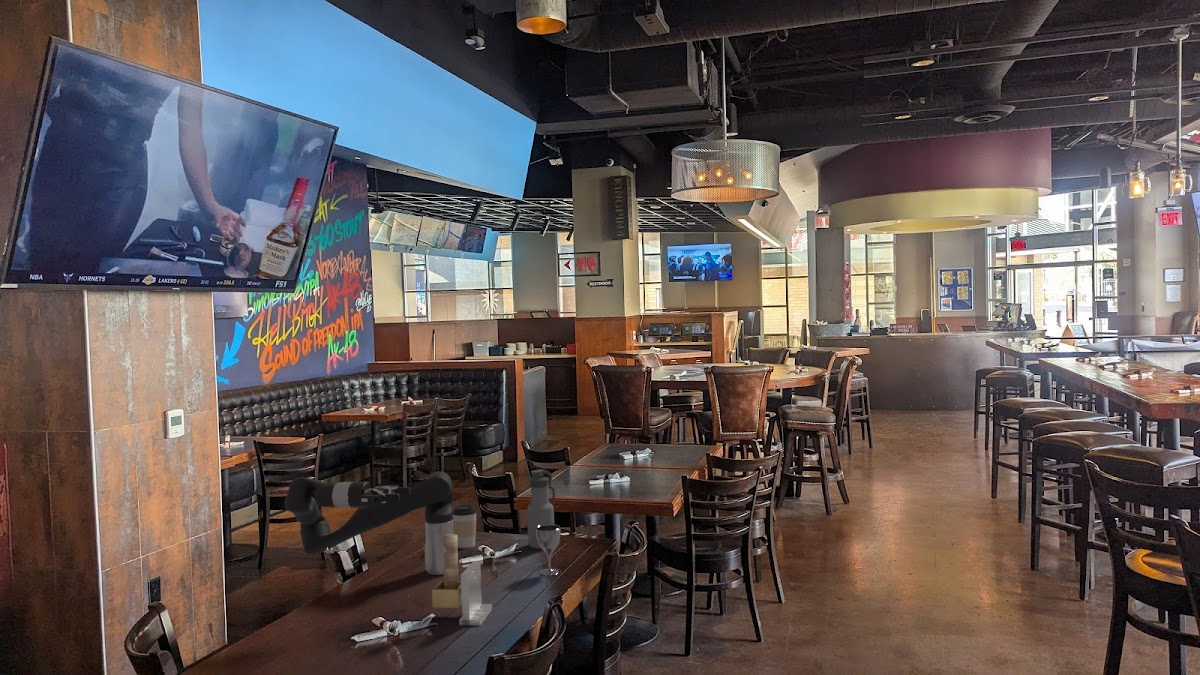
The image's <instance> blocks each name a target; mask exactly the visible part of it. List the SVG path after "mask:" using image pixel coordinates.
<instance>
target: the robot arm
mask: <svg viewBox="0 0 1200 675" xmlns="http://www.w3.org/2000/svg"><path fill="white" fill-rule="evenodd" d="M288 486H289V487H288V490H287V493H286V497H285V500H284V509H285V510H286V511H288V512H290V513H291V514H293V515H294V518H295V520H296V521H297V522H298V523H300V527H299V528H300V529H299V530H300V531H299V534H300V538H301V543H302V547H303V551H304V553H305V554H306V555H308V556H313V555H314V556H315V555H318V554H321V553H324V552H325V551H327V550H326V549H327V547H328V549H329V550H330V549H333V548H334V547H337V546H338V545H340V544H343V543H344V542H346V541H348V540H350V539H352V538H354V537H356V536H360V535H361V534H363V533H366V532H369V531H371V530H375V529H377V528H379V527H381V526H384V525H386V524H388V523H391V522H393V521H395V520H397V519H401V517H404V516H405V515H407V514H409V513H412V512H414V511H415V510H418V509H422V508H425V509H424V523H425V524H424V526H425V527H424V528H425V543H424V546H423V547H424V564H425V565H424V568H425V571H426V572H427V574H429V575H435V576H438V575H439V576H440V575H441V576H442V575H444V554H443V536H444V535H447V534H455V531H454V523H453V520H454V519H453V510H454V500H453V499H454V496H453V491H454V490H453V482H452V478H451V477H450V475H449V474H448V473H446V472H445V471H433V472H432V473H430V474H428V476H427V477H426V478H425V480H423V481H422V482H420V483H418V484H416V485H414V486H412V487H409V486H408V487H406V486H402V487H400V484H399V485H398V484H395V485H394V484H393V485H392V484H391V485H390V484H389V485H388V484H387V485H383V484H380V485H379V486H375V487H374V488H373V487H372V486H371V483H369V482H368V481H342V482H323V481H318V480H314V479H310V478H308V477H304V476H303V477H302V476H298V477H295V478H294V479H293V480H291V482H290V484H289V485H288ZM392 490H393V491H392ZM313 494H314V495H315V496H314V497H313ZM319 507H320V508H342V509H343V508H344V509H351V508H352V509H356V510H355V511H354V512H353V514H352V515H351V516H350V518H349V519H348V520H347V521H346V522H345V523H344V524H343V525H342V526H341V527H339V528H338V529H336V530H334V531H333V532H332V531H331V527H330V523H329V521H328V520H327V518H326V517H325V516H324V515H323V514H322V513H321V512H320V510H319Z"/></svg>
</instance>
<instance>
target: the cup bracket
mask: <svg viewBox="0 0 1200 675" xmlns="http://www.w3.org/2000/svg"><path fill="white" fill-rule="evenodd" d="M481 569H482V568H481V560H478V561H477V560H474V561H472V562H471V563H470V564H469V565H468V566H467V567H466V569H464V571H463V572H462V573H461V574H460V580H458V588H457V589H444V580H440V581H439V582H438V583H437V584H436V585H435V586H434V587H433V588H432V589H431V601H432V602H431V603H432V606H431V607H432V608H438V609H439V608H441V609H442V608H443V609H446V608H450V609H452V608H454V609H456V608H457V609H458V608H460V607H461V613H462V614H461V616H460V618H459V619H458V622H459V623H458V625H459V626H481V625H483V622H485V620H486V619H487V617H488V615H490V613H491V612H492V610H493V604H492V603H483V600H482V596H483V595H482V572H481Z"/></svg>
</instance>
